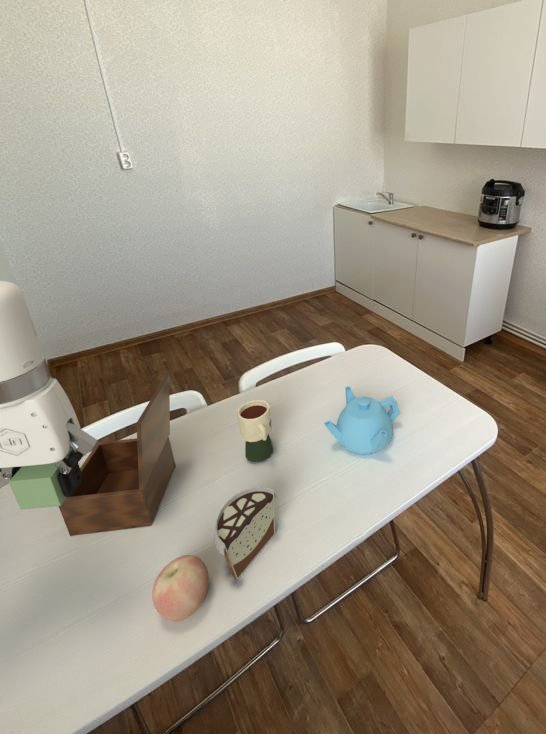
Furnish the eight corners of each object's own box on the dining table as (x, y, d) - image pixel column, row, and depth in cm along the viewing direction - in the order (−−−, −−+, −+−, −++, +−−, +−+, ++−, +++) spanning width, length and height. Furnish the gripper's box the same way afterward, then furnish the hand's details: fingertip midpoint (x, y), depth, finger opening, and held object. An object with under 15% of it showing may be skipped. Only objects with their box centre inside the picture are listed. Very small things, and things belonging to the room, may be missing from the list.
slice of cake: (257, 512, 76) (251, 474, 72) (280, 527, 73) (276, 488, 70) (205, 569, 66) (196, 528, 63) (230, 589, 63) (221, 547, 60)
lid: (136, 422, 65) (140, 422, 66) (166, 373, 79) (169, 374, 79) (139, 490, 70) (143, 490, 71) (166, 433, 84) (169, 433, 84)
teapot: (385, 469, 85) (386, 430, 82) (324, 453, 90) (321, 415, 86) (401, 423, 99) (402, 388, 95) (347, 411, 104) (346, 378, 100)
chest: (69, 536, 72) (56, 501, 69) (107, 473, 86) (97, 442, 83) (151, 526, 74) (141, 492, 71) (175, 465, 87) (168, 435, 84)
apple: (202, 567, 66) (195, 535, 64) (219, 605, 61) (212, 572, 58) (153, 602, 61) (142, 568, 59) (166, 646, 56) (155, 612, 53)
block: (20, 509, 51) (8, 481, 49) (45, 478, 56) (34, 451, 54) (60, 505, 51) (50, 477, 50) (81, 475, 56) (72, 448, 54)
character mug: (283, 461, 88) (278, 415, 83) (254, 477, 84) (247, 430, 79) (264, 434, 96) (259, 391, 92) (236, 447, 92) (229, 403, 88)
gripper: (-98, 405, 43) (-38, 522, 49) (66, 394, 44) (103, 508, 51) (-40, 368, 50) (5, 474, 56) (99, 359, 51) (128, 463, 58)
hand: (51, 489), depth 53 cm, fingers closed on block, 5 cm apart
